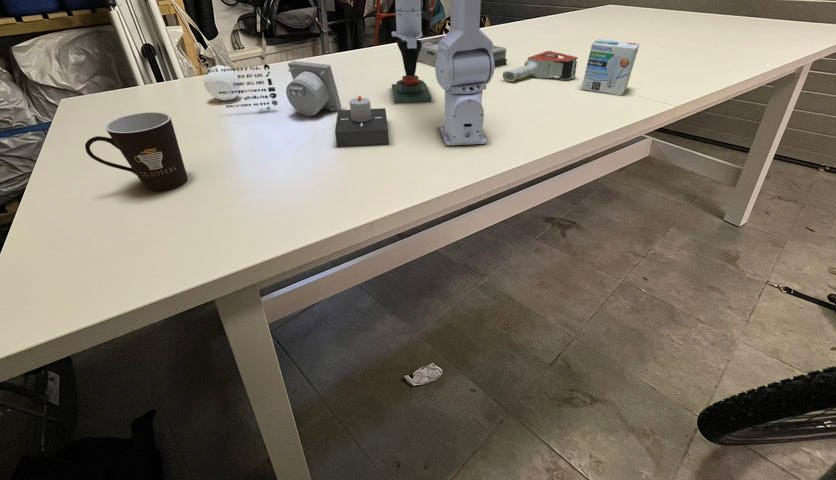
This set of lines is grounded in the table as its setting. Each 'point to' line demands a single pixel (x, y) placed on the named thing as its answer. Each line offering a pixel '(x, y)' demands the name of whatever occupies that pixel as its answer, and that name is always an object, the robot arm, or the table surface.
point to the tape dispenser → (545, 67)
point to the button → (410, 80)
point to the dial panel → (361, 129)
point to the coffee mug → (146, 149)
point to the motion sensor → (222, 83)
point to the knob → (360, 109)
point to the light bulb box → (609, 66)
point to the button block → (411, 93)
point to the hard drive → (431, 50)
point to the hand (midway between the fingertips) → (410, 75)
